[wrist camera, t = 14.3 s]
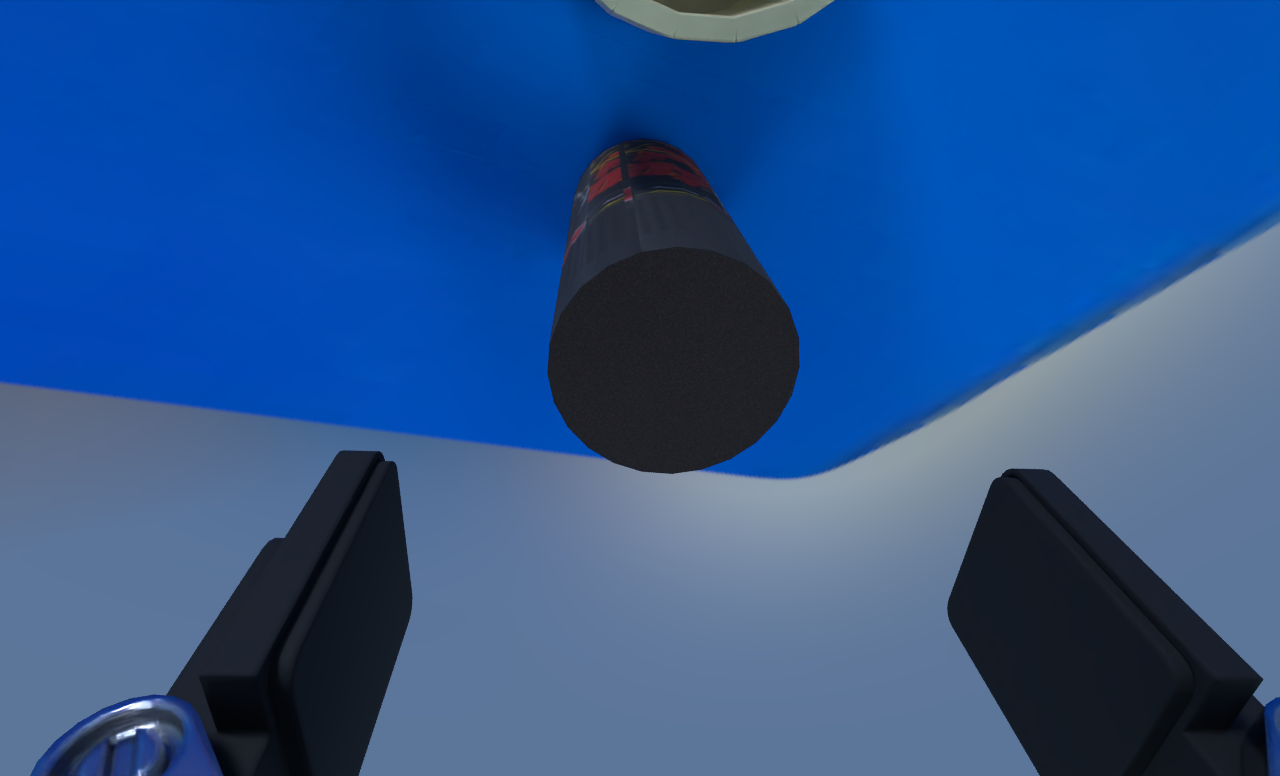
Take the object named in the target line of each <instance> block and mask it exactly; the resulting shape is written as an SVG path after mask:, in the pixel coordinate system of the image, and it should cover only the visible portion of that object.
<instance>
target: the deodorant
mask: <svg viewBox="0 0 1280 776" xmlns="http://www.w3.org/2000/svg"><path fill="white" fill-rule="evenodd" d="M798 370H799V337H798V334H797V331H796V328H795V325H794V322H793V319H792V316H791V313H790V310H789V308H788V306H787V304H786V303H785V301H784V300H783V298H782V297H781V295H780V294H779V292H778V290H777V289H776V287H775V286H774V284H773V283H772V281H771V279H770V278H769V276H768V275H767V273H766V272H765V270H764V269H763V267H762V265H761V264H760V262H759V261H758V259H757V258H756V256H755V255H754V253H753V251H752V250H751V248H750V247H749V245H748V244H747V242H746V240H745V239H744V237H743V236H742V234H741V233H740V231H739V230H738V228H737V226H736V225H735V223H734V222H733V220H732V219H731V217H730V216H729V214H728V212H727V211H726V209H725V208H724V206H723V205H722V203H721V201H720V200H719V198H718V197H717V195H716V194H715V192H714V191H713V189H712V187H711V186H710V184H709V183H708V181H707V180H706V178H705V177H704V175H703V174H702V172H701V171H700V169H699V168H698V167H697V165H696V164H695V162H694V161H693V160H692V159H691V158H690V157H688V156H687V155H686V154H685V153H683V152H682V151H681V150H680V149H678V148H676V147H674V146H671V145H669V144H666V143H664V142H662V141H655V140H647V139H639V140H632V141H625V142H622V143H620V144H618V145H615V146H613V147H611V148H609V149H606V150H605V151H604V152H603V153H602V154H600V155H599V156H598V157H597V158H596V159H594V160H593V161H592V162H591V163H590V165H589V166H588V168H587V169H586V171H585V172H584V173H583V175H582V176H581V178H580V181H579V184H578V187H577V189H576V192H575V195H574V201H573V207H572V213H571V219H570V225H569V231H568V237H567V243H566V249H565V255H564V261H563V267H562V273H561V278H560V284H559V290H558V296H557V302H556V308H555V314H554V320H553V326H552V332H551V338H550V344H549V359H548V378H549V382H550V387H551V391H552V396H553V400H554V403H555V405H556V407H557V409H558V410H559V412H560V414H561V416H562V418H563V419H564V421H565V423H566V425H567V427H568V428H569V429H570V430H571V431H572V432H573V433H574V434H575V435H576V436H577V437H578V438H579V439H580V440H581V441H582V442H583V443H584V444H585V445H586V446H587V447H588V448H589V449H591V450H593V451H594V452H596V453H598V454H600V455H601V456H603V457H605V458H606V459H608V460H610V461H611V462H613V463H616V464H619V465H622V466H625V467H629V468H632V469H635V470H639V471H642V472H655V473H669V474H674V473H681V472H688V471H695V470H702V469H705V468H707V467H710V466H713V465H715V464H718V463H721V462H724V461H726V460H729V459H731V458H733V457H734V456H736V455H737V454H739V453H741V452H742V451H744V450H745V449H747V448H748V447H750V446H751V445H753V444H755V443H756V442H757V441H758V440H759V439H760V438H761V437H762V436H763V435H764V434H765V433H766V432H767V431H768V430H769V429H770V428H771V427H772V426H773V425H774V423H775V422H776V421H777V420H778V418H779V416H780V415H781V413H782V411H783V410H784V408H785V406H786V404H787V403H788V401H789V399H790V397H791V396H792V392H793V389H794V385H795V381H796V378H797V374H798Z"/></svg>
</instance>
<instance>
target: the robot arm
mask: <svg viewBox="0 0 1280 776" xmlns="http://www.w3.org/2000/svg"><path fill="white" fill-rule="evenodd" d="M411 609H412V588H411V581H410V572H409V563H408V555H407V547H406V538H405V530H404V522H403V514H402V505H401V496H400V488H399V480H398V472H397V466H396V464H395V462H393V461H385V459H384V456H383V454H382V453H381V452H380V451H340V452H339V453H338V454H337V455H336V457H335V458H334V460H333V462H332V463H331V465H330V466H329V468H328V470H327V471H326V473H325V474H324V476H323V478H322V479H321V481H320V482H319V484H318V486H317V487H316V489H315V490H314V492H313V494H312V495H311V497H310V499H309V500H308V502H307V503H306V505H305V506H304V508H303V510H302V511H301V513H300V514H299V516H298V517H297V519H296V521H295V522H294V524H293V525H292V527H291V529H290V530H289V532H288V534H287V535H286V537H285V538H274V539H272V540H270V541H269V542H268V543H267V544H266V545H265V546H264V548H263V549H262V550H261V552H260V553H259V555H258V556H257V558H256V559H255V561H254V562H253V564H252V566H251V567H250V568H249V570H248V572H247V573H246V574H245V576H244V578H243V579H242V581H241V582H240V584H239V585H238V587H237V588H236V590H235V591H234V593H233V594H232V596H231V597H230V599H229V600H228V602H227V603H226V605H225V606H224V608H223V610H222V611H221V612H220V614H219V616H218V617H217V619H216V620H215V622H214V623H213V625H212V626H211V628H210V629H209V631H208V632H207V634H206V635H205V637H204V639H203V640H202V641H201V643H200V644H199V646H198V647H197V649H196V651H195V652H194V654H193V655H192V657H191V658H190V660H189V661H188V663H187V664H186V666H185V667H184V669H183V670H182V672H181V673H180V675H179V677H178V678H177V680H176V681H175V683H174V684H173V686H172V687H171V689H170V690H169V692H168V693H167V695H166V696H165V695H149V696H143V697H137V698H131V699H128V700H125V701H122V702H119V703H117V704H114V705H111V706H109V707H106V708H103V709H102V710H100V711H98V712H96V713H95V714H93V715H91V716H89V717H87V718H86V719H84V720H82V721H81V722H79V723H77V724H76V725H75V726H74V727H73V728H71V729H70V730H69V731H67V732H66V733H65V734H63V735H62V736H61V737H60V738H59V739H57V740H56V741H55V742H54V743H53V744H52V745H51V747H50V748H49V749H48V750H47V751H46V752H45V754H44V755H43V756H42V757H41V758H40V759H39V760H38V762H37V764H36V765H35V767H34V769H33V771H32V773H31V775H30V776H358V775H359V772H360V769H361V766H362V763H363V760H364V757H365V754H366V750H367V748H368V745H369V742H370V738H371V735H372V732H373V729H374V726H375V723H376V720H377V717H378V714H379V711H380V708H381V705H382V702H383V699H384V696H385V693H386V690H387V686H388V683H389V680H390V677H391V674H392V671H393V668H394V665H395V662H396V659H397V656H398V653H399V650H400V647H401V643H402V641H403V638H404V635H405V631H406V629H407V626H408V623H409V619H410V615H411ZM947 609H948V617H949V620H950V623H951V625H952V627H953V629H954V630H955V632H956V634H957V636H958V637H959V639H960V641H961V642H962V644H963V646H964V647H965V649H966V651H967V652H968V654H969V656H970V658H971V659H972V661H973V662H974V664H975V666H976V668H977V669H978V671H979V673H980V675H981V676H982V678H983V680H984V681H985V683H986V685H987V687H988V688H989V690H990V692H991V693H992V695H993V697H994V698H995V700H996V702H997V704H998V705H999V707H1000V709H1001V710H1002V712H1003V714H1004V715H1005V717H1006V719H1007V721H1008V722H1009V724H1010V726H1011V727H1012V729H1013V730H1014V732H1015V734H1016V736H1017V738H1018V739H1019V741H1020V743H1021V744H1022V746H1023V748H1024V749H1025V751H1026V753H1027V754H1028V756H1029V758H1030V760H1031V761H1032V763H1033V765H1034V766H1035V768H1036V770H1037V772H1038V773H1039V775H1040V776H1280V697H1278V698H1275V699H1274V700H1272V701H1270V702H1269V703H1268V704H1266V706H1265V707H1264V706H1263V705H1262V704H1261V703H1260V702H1259V701H1258V700H1257V699H1256V698H1255V697H1254V696H1253V693H1254V692H1255V691H1256V689H1257V688H1258V686H1259V685H1260V684H1261V682H1262V681H1263V678H1262V677H1260V676H1259V675H1258V674H1257V673H1256V672H1255V671H1254V670H1253V669H1252V668H1251V667H1250V666H1249V665H1248V664H1247V663H1246V662H1245V661H1244V660H1243V659H1242V658H1241V657H1240V656H1239V655H1238V654H1237V653H1236V652H1235V651H1234V650H1233V649H1232V648H1231V647H1230V646H1229V645H1228V644H1227V643H1226V642H1225V641H1224V640H1223V639H1222V638H1221V637H1220V636H1219V635H1218V634H1217V633H1216V632H1214V630H1213V629H1212V628H1211V627H1209V626H1208V625H1207V624H1206V623H1205V622H1204V621H1203V620H1202V619H1201V618H1200V617H1199V616H1198V615H1197V614H1196V613H1195V612H1194V611H1193V610H1192V609H1191V608H1190V607H1189V606H1188V605H1187V604H1186V603H1185V602H1184V601H1183V600H1182V599H1181V598H1180V597H1179V596H1178V595H1177V594H1176V593H1175V592H1174V591H1172V589H1171V588H1170V587H1169V586H1168V585H1167V584H1166V583H1165V582H1164V581H1163V580H1162V579H1161V578H1159V577H1158V576H1157V575H1156V574H1155V573H1154V572H1153V571H1152V570H1151V569H1150V568H1149V567H1148V566H1147V565H1146V564H1145V563H1144V562H1143V561H1142V560H1141V559H1140V558H1139V557H1138V556H1137V555H1136V554H1135V553H1134V552H1133V551H1132V550H1131V549H1130V548H1129V547H1128V546H1127V545H1126V544H1125V543H1124V542H1123V541H1122V540H1121V539H1120V538H1119V537H1118V536H1117V535H1116V534H1115V533H1114V532H1113V531H1112V530H1111V529H1110V528H1108V527H1107V526H1106V525H1105V524H1104V523H1103V522H1102V521H1101V520H1100V519H1099V518H1098V517H1097V516H1096V515H1095V514H1094V513H1093V512H1092V511H1091V510H1090V509H1089V508H1088V507H1087V506H1086V505H1085V504H1084V503H1083V502H1082V501H1081V500H1080V499H1079V498H1078V497H1077V496H1076V495H1075V494H1074V493H1073V492H1072V491H1071V490H1070V489H1069V488H1068V487H1067V486H1066V485H1065V484H1064V483H1063V482H1062V481H1061V480H1060V479H1058V478H1057V477H1056V476H1055V475H1054V474H1053V473H1052V472H1050V471H1049V470H1043V469H1009V470H1006V471H1005V472H1004V473H1003V474H1002V476H1001V477H999V478H996V479H995V480H994V481H993V482H992V484H991V486H990V489H989V491H988V494H987V497H986V499H985V502H984V505H983V508H982V510H981V513H980V516H979V519H978V521H977V524H976V527H975V529H974V532H973V535H972V538H971V541H970V543H969V546H968V548H967V551H966V554H965V557H964V559H963V562H962V565H961V567H960V570H959V573H958V576H957V578H956V581H955V584H954V587H953V589H952V592H951V595H950V597H949V601H948V607H947Z"/></svg>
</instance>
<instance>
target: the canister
mask: <svg viewBox="0 0 1280 776" xmlns="http://www.w3.org/2000/svg"><path fill="white" fill-rule="evenodd" d="M594 1H595V2H596V3H597V4H599V5H600V6H601V7H602V8H603V9H604V10H605V11H606V12H607V13H609V14H610V15H611V16H614V17H616V18H618V19H620V20H623V21H625V22H627V23H629V24H632V25H634V26H636V27H638V28H640V29H643V30H645V31H647V32H650V33H654V34H657V35H661V36H665V37H669V38H673V39H682V40H696V41H711V42H725V43H734V42H742V41H745V40H749V39H752V38H756V37H759V36H762V35H766V34H769V33H773V32H776V31H780V30H783V29H787V28H790V27H794V26H796V25H797V24H801V23H802V22H804V21H805V20H807V19H808V18H809V17H811V16H812V15H814V14H815V13H817V12H818V11H820V10H821V9H823V8H824V7H826V6H827V5H829V4H830V3H832V2H833V1H834V0H594Z"/></svg>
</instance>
